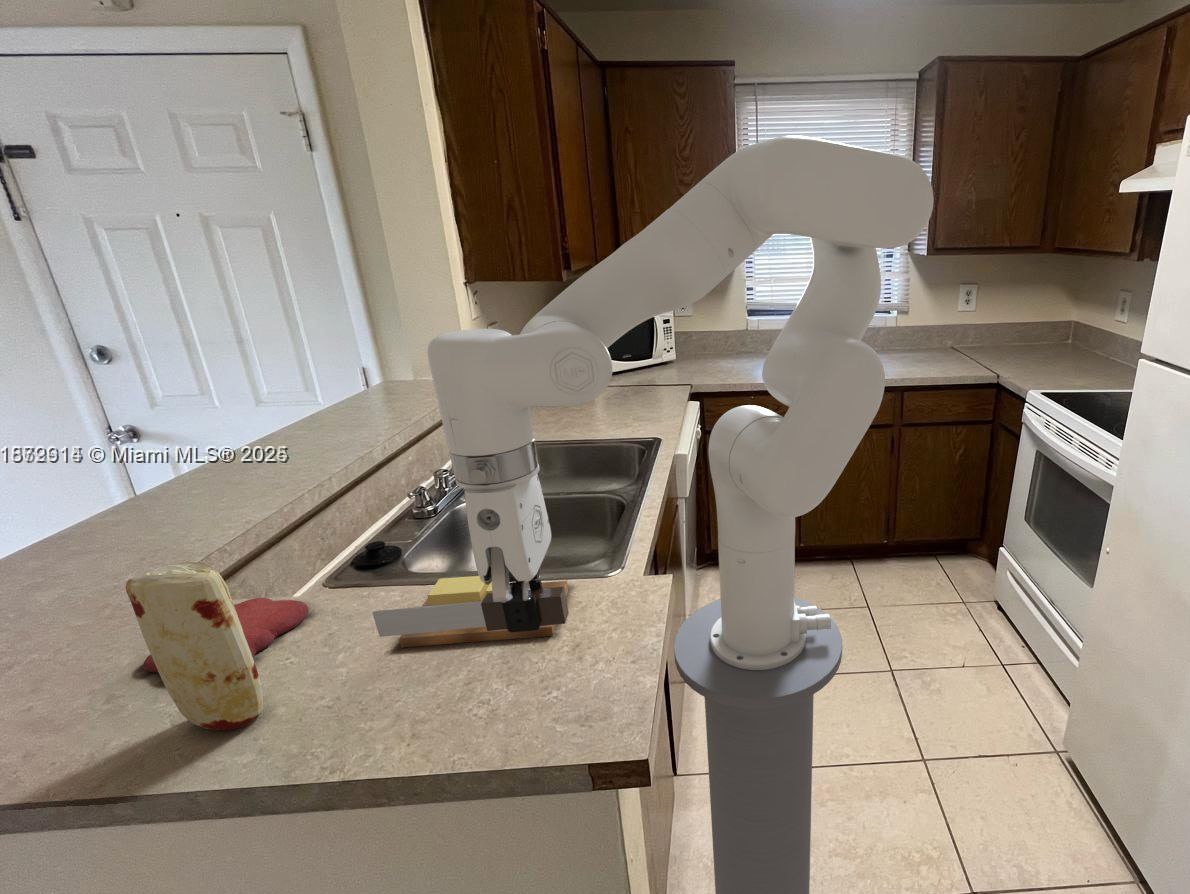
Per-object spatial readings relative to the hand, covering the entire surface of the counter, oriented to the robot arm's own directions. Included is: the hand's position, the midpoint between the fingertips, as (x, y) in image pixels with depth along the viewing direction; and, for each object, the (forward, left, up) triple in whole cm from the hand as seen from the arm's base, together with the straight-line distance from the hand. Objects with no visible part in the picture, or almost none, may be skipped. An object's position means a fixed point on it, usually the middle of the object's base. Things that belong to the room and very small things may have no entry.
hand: (527, 620), depth 65 cm
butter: (+16, -23, -12) cm, 31 cm away
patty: (+46, -21, -14) cm, 53 cm away
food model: (+36, -5, -14) cm, 39 cm away
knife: (+5, 0, 0) cm, 5 cm away
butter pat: (+11, -23, -12) cm, 29 cm away
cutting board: (+12, -22, -14) cm, 29 cm away
